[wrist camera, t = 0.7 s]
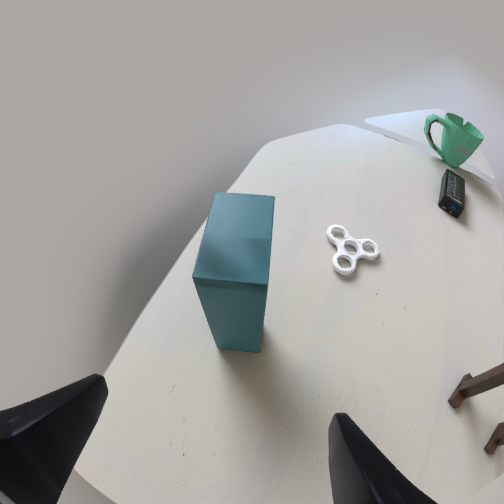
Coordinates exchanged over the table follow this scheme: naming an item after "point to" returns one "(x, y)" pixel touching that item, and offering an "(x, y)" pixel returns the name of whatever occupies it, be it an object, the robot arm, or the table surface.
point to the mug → (454, 138)
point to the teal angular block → (235, 268)
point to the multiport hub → (452, 193)
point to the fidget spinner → (345, 254)
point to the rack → (476, 386)
